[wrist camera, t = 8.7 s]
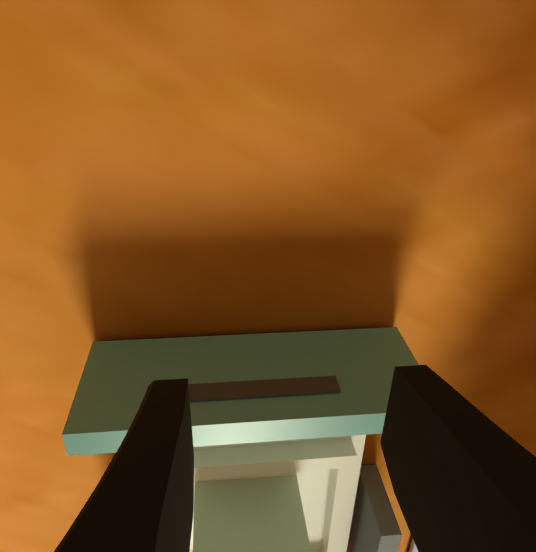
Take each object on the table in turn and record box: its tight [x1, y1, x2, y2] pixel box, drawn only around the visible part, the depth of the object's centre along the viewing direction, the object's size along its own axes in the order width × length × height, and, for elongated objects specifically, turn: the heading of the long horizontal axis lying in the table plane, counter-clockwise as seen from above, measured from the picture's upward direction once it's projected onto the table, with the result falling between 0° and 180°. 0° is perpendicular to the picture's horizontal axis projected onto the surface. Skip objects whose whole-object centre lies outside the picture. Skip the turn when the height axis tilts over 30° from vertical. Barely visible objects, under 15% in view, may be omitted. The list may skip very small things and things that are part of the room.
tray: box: [62, 327, 418, 552], centre depth 22 cm, size 13×16×5 cm
